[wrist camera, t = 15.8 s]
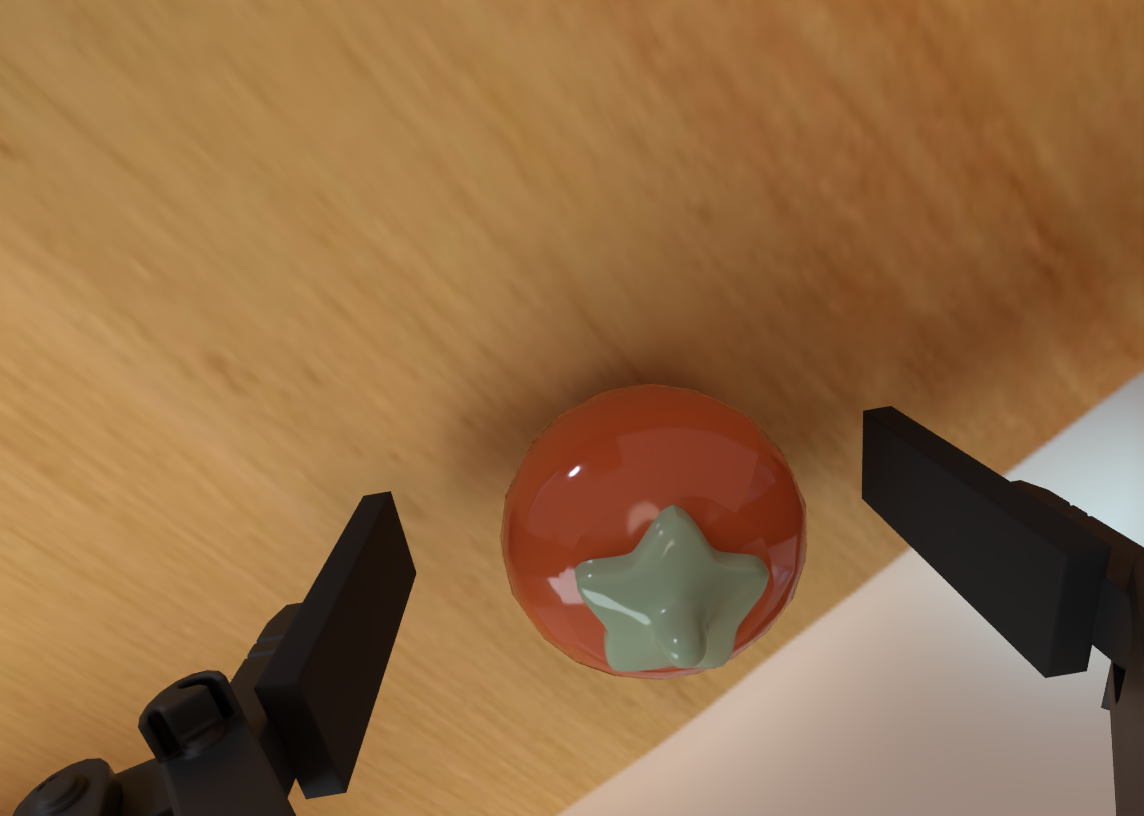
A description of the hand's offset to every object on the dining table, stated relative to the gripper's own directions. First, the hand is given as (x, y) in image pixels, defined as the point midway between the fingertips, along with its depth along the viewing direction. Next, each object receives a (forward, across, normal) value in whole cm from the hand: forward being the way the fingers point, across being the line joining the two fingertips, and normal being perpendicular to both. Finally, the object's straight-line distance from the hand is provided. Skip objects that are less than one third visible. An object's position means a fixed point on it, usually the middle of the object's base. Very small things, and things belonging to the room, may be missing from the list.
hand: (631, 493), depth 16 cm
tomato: (+2, 0, 0) cm, 2 cm away
